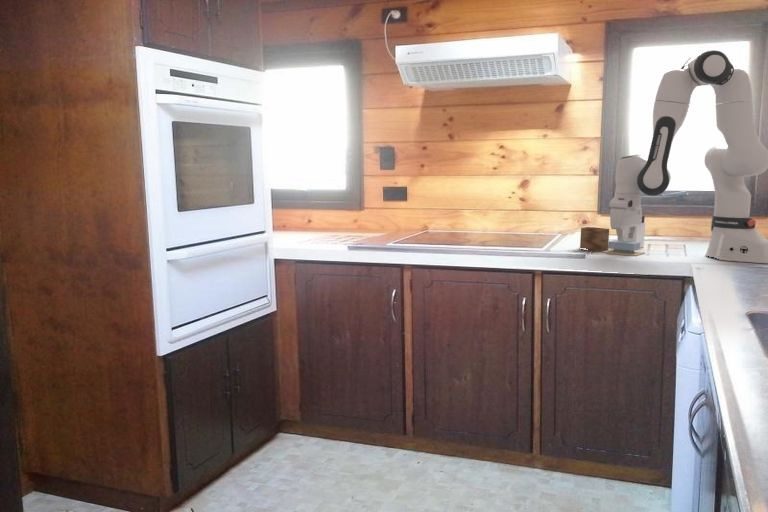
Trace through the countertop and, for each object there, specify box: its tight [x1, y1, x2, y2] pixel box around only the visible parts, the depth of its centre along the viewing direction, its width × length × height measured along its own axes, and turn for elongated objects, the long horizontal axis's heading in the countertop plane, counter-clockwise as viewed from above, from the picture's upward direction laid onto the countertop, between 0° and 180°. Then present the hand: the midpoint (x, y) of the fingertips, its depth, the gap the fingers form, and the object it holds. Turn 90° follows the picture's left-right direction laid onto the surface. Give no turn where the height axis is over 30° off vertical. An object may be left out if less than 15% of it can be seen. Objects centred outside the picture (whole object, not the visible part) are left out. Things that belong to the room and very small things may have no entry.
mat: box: [601, 248, 646, 257], centre depth 252 cm, size 12×9×1 cm
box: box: [579, 226, 610, 253], centre depth 258 cm, size 9×5×8 cm, turn 51°
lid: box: [608, 239, 641, 253], centre depth 252 cm, size 9×6×4 cm, turn 51°
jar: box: [623, 214, 646, 249], centre depth 268 cm, size 9×8×12 cm
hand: (626, 239), depth 252 cm, fingers open, 8 cm apart
